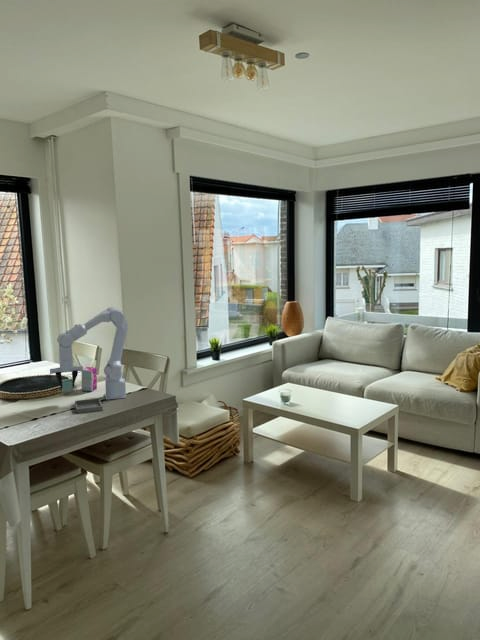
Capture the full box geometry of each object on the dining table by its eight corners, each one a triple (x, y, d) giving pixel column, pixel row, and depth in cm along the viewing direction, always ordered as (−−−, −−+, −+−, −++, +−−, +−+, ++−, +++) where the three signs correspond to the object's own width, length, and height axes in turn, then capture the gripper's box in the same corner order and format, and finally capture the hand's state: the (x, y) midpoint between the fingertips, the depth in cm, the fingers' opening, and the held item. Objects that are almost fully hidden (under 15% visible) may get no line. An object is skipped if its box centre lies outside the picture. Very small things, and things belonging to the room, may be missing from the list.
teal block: (72, 387, 231) (71, 378, 230) (72, 390, 227) (72, 381, 226) (62, 388, 229) (61, 379, 228) (62, 391, 225) (62, 382, 224)
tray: (99, 402, 232) (99, 398, 232) (102, 410, 222) (102, 406, 222) (74, 404, 228) (74, 400, 227) (76, 413, 218) (76, 409, 217)
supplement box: (92, 392, 246) (91, 370, 244) (81, 391, 247) (80, 369, 245) (97, 388, 251) (96, 367, 249) (87, 387, 252) (86, 366, 250)
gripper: (81, 355, 231) (82, 382, 234) (49, 358, 226) (50, 385, 228) (82, 359, 225) (84, 387, 227) (49, 361, 219) (50, 390, 222)
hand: (67, 386), depth 227 cm, fingers closed on teal block, 4 cm apart
